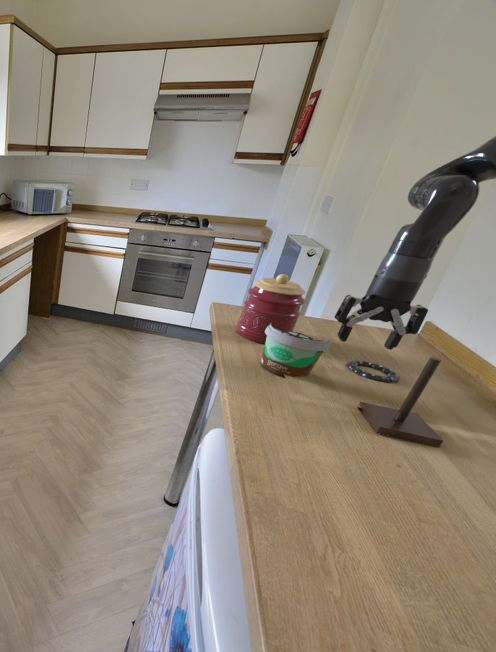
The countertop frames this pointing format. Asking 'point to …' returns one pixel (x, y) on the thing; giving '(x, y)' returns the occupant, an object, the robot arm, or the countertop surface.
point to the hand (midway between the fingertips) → (364, 344)
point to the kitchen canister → (270, 307)
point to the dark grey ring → (390, 378)
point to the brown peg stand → (405, 414)
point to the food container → (291, 352)
